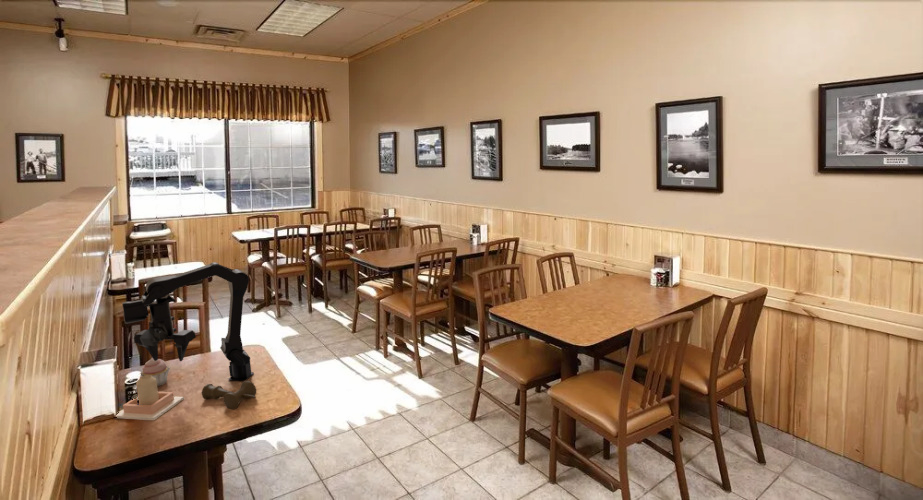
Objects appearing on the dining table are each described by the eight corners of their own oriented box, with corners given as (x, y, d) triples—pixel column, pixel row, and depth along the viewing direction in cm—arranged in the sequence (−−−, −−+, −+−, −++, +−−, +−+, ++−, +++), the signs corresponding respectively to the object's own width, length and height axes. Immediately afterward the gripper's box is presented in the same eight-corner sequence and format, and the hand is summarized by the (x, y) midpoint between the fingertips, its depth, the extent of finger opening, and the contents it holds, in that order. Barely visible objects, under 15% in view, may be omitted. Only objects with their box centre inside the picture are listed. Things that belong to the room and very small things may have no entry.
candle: (150, 410, 168) (146, 381, 166) (135, 409, 169) (131, 379, 167) (163, 402, 173) (159, 373, 171) (148, 401, 174) (144, 372, 172)
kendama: (218, 392, 182) (266, 398, 176) (196, 406, 173) (247, 413, 167) (215, 376, 181) (264, 381, 175) (193, 389, 172) (244, 395, 166)
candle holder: (183, 399, 177) (182, 389, 176) (153, 420, 163) (152, 410, 163) (146, 396, 179) (144, 387, 178) (113, 417, 165) (112, 408, 165)
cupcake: (161, 375, 196) (158, 350, 194) (177, 380, 191) (173, 354, 189) (136, 385, 188) (132, 359, 186) (151, 391, 183) (147, 364, 181)
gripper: (117, 324, 168) (125, 370, 171) (170, 325, 166) (178, 371, 169) (142, 313, 179) (149, 356, 182) (193, 313, 176) (199, 357, 180)
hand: (168, 360), depth 178 cm, fingers open, 9 cm apart
